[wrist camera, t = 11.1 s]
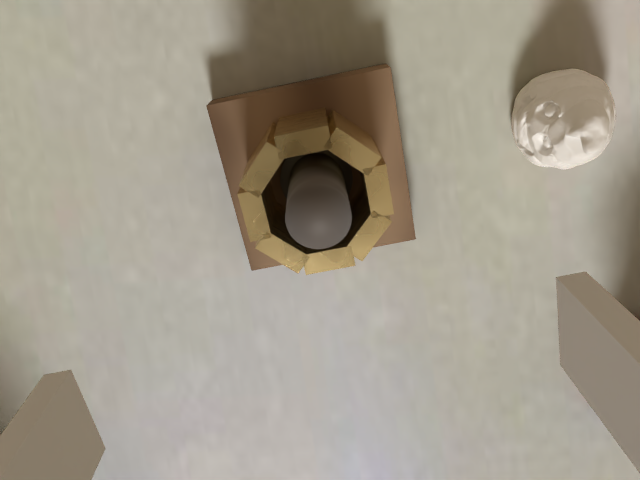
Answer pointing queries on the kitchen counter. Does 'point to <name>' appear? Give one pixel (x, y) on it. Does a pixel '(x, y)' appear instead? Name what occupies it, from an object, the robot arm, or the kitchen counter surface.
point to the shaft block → (316, 155)
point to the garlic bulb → (563, 118)
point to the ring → (269, 216)
